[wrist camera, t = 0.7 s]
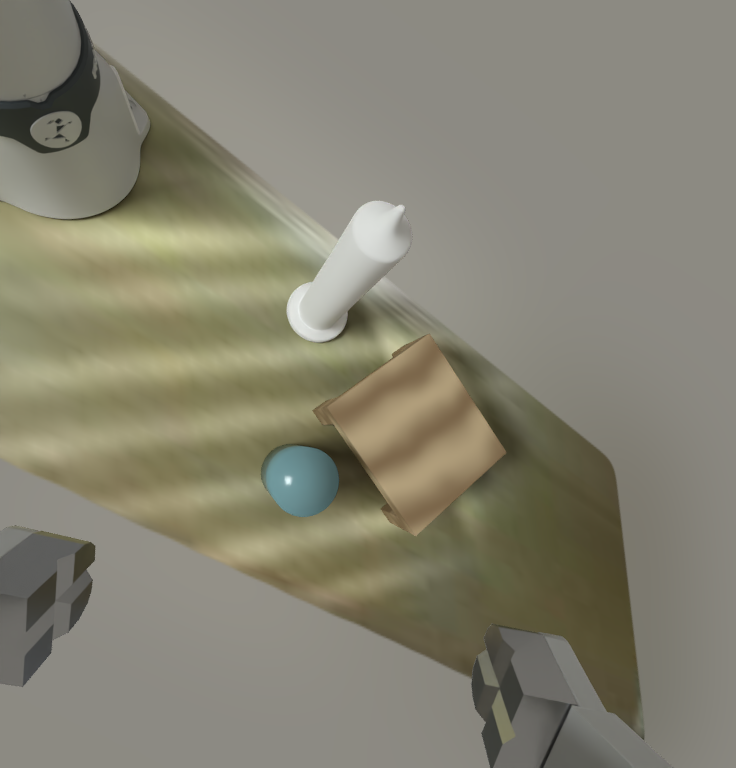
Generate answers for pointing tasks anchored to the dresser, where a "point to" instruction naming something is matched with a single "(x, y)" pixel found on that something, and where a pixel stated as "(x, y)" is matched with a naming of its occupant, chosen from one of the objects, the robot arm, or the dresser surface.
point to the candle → (350, 270)
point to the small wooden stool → (414, 433)
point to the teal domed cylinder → (300, 479)
